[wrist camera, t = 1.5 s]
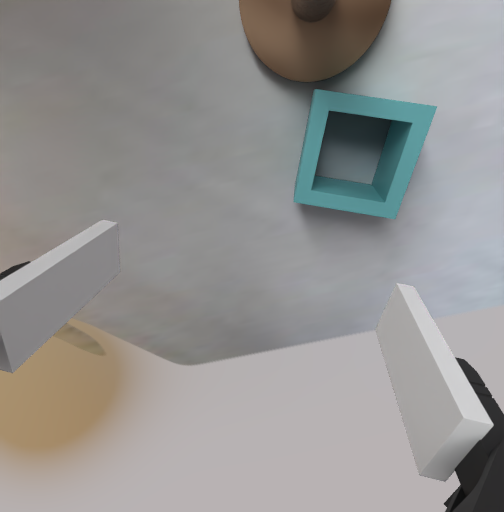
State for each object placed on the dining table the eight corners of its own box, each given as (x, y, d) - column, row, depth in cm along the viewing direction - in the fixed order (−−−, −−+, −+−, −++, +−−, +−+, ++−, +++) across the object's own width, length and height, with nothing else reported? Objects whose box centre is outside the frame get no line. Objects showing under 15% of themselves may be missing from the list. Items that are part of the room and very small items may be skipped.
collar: (313, 90, 29) (316, 88, 23) (412, 104, 28) (437, 106, 23) (295, 184, 33) (293, 202, 28) (380, 199, 32) (395, 219, 27)
